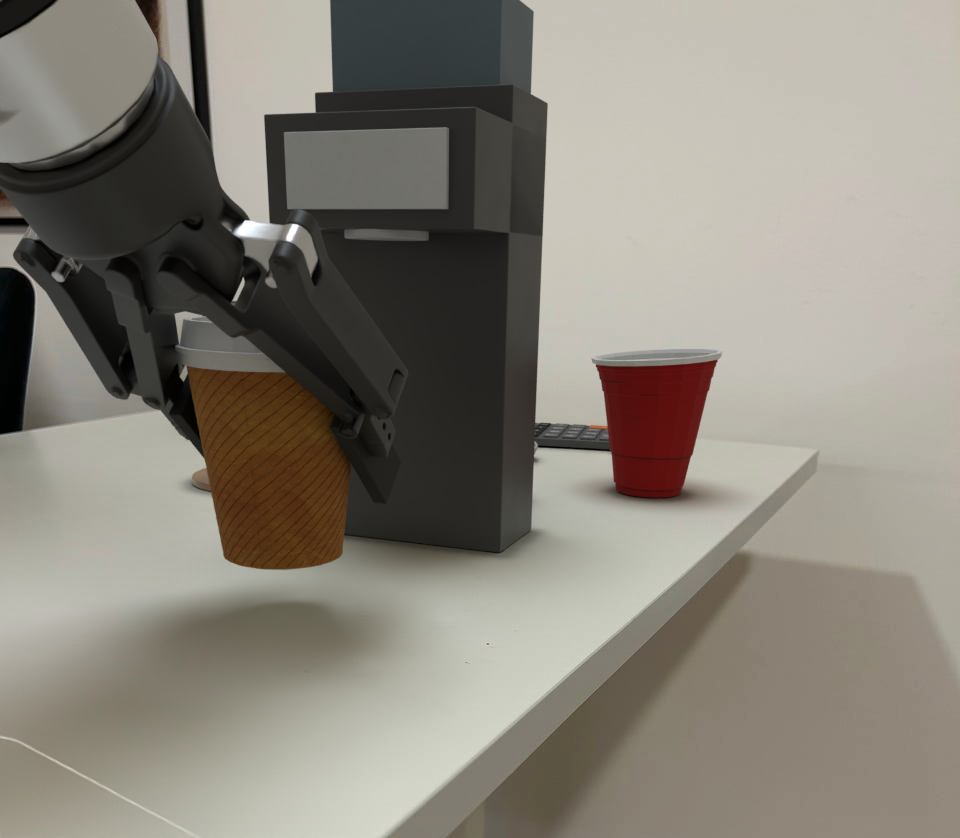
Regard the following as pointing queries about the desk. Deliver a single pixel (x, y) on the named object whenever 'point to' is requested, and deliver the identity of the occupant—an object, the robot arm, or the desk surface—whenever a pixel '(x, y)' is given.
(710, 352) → the plastic cup
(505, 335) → the coffee maker
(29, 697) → the desk surface
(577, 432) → the calculator
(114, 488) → the desk surface
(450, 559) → the desk surface
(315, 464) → the disposable coffee cup
